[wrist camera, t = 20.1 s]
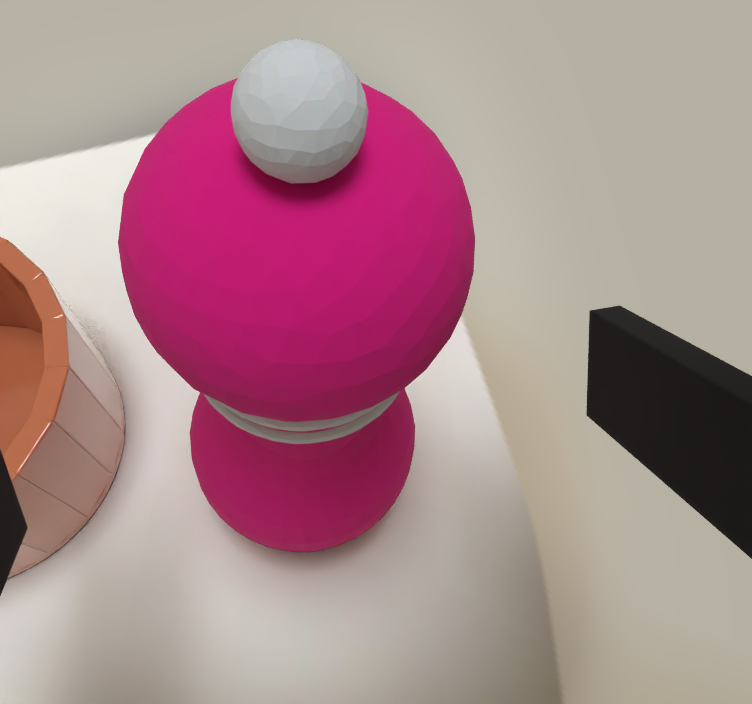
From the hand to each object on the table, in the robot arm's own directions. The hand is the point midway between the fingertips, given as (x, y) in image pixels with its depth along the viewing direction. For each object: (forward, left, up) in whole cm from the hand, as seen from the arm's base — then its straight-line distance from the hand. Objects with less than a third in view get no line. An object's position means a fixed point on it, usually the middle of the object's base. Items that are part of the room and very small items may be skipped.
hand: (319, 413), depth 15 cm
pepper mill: (+2, 0, -12) cm, 12 cm away
